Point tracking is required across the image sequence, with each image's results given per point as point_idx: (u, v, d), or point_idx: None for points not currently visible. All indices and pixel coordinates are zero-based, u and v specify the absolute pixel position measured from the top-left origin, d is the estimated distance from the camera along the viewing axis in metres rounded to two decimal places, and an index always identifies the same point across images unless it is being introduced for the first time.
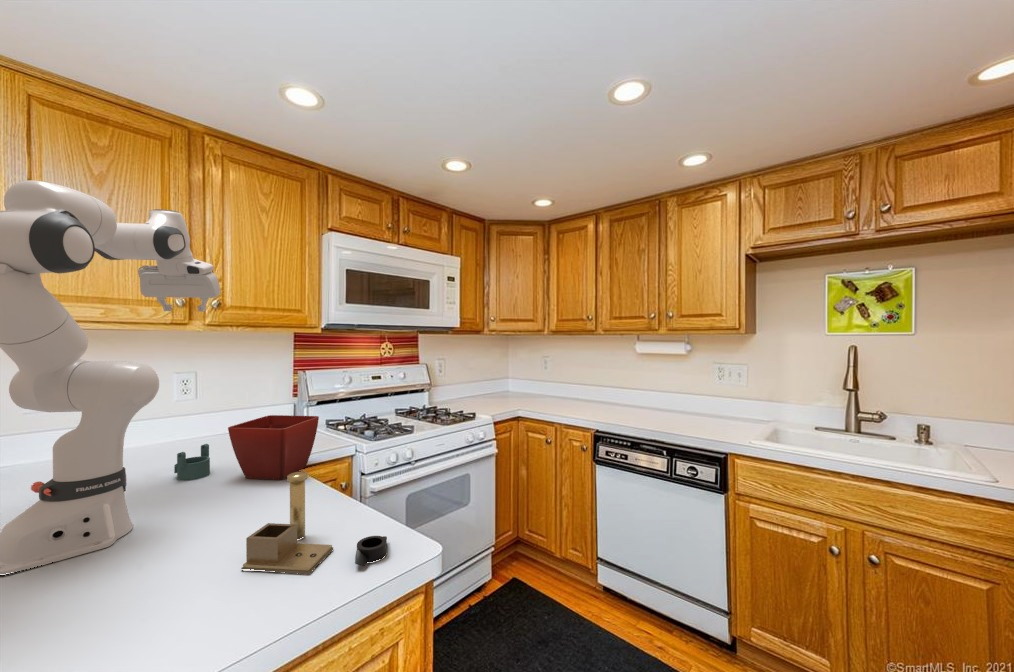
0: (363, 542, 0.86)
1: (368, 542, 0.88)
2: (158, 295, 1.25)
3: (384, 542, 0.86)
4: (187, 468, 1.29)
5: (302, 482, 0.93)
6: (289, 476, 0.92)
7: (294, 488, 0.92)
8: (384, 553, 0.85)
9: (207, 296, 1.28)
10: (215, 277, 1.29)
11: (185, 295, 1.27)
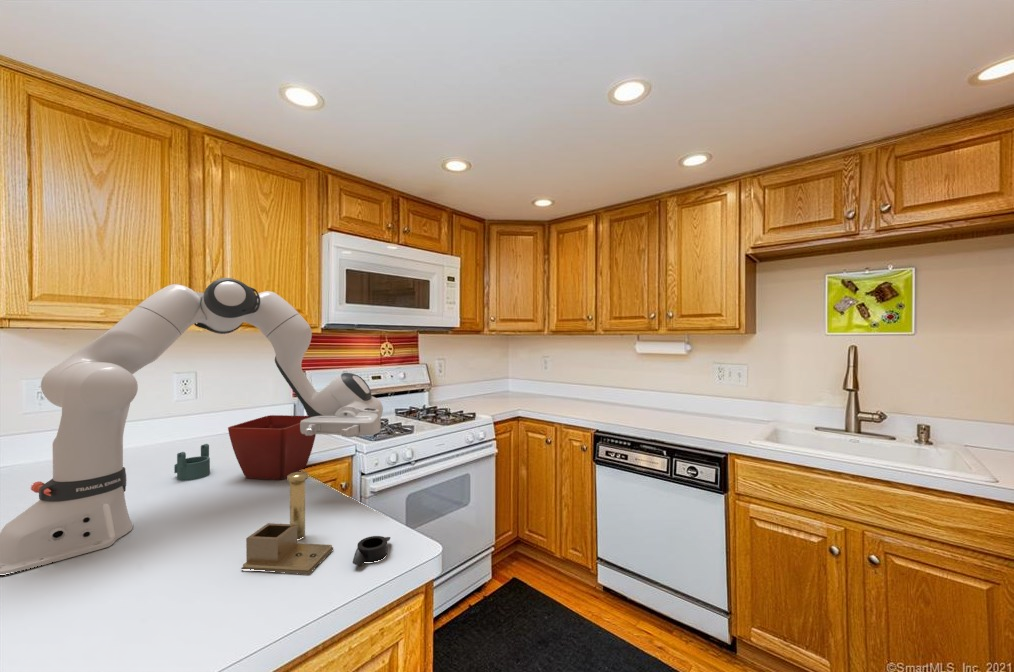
0: (365, 542, 0.87)
1: (370, 542, 0.88)
2: (316, 420, 1.11)
3: (384, 543, 0.85)
4: (187, 467, 1.29)
5: (302, 482, 0.93)
6: (289, 476, 0.92)
7: (294, 488, 0.92)
8: (383, 554, 0.85)
9: (363, 421, 1.10)
10: (378, 428, 1.15)
11: (342, 421, 1.11)
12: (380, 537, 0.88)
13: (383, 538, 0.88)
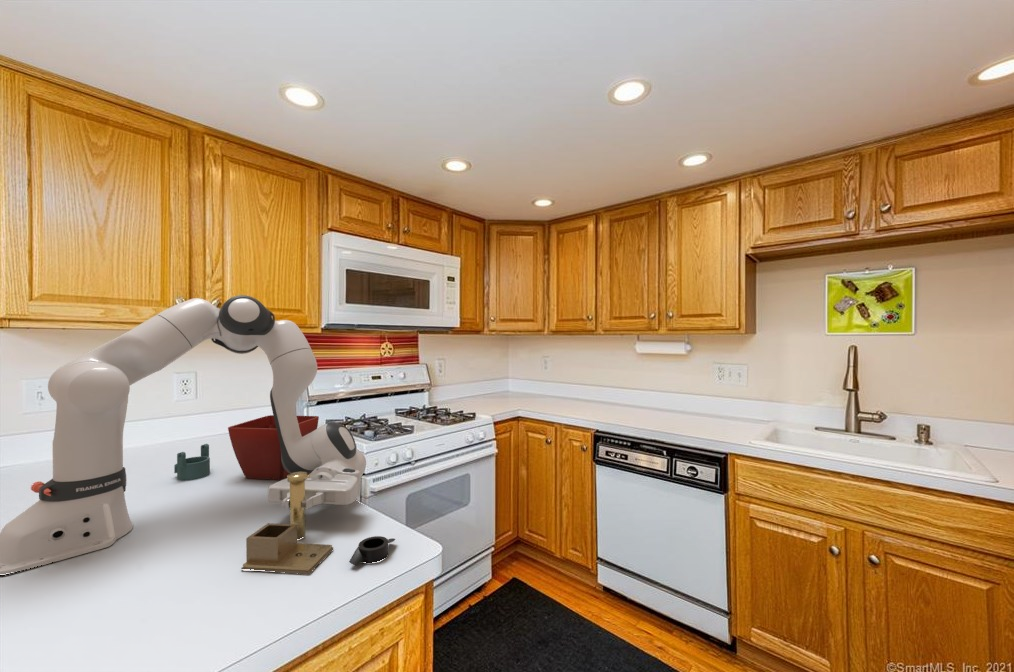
0: (367, 541, 0.87)
1: (374, 542, 0.88)
2: (286, 486, 0.98)
3: (384, 545, 0.85)
4: (187, 467, 1.29)
5: (302, 482, 0.93)
6: (289, 476, 0.92)
7: (294, 488, 0.92)
8: (382, 556, 0.84)
9: (339, 489, 0.97)
10: (357, 493, 1.02)
11: (316, 487, 0.98)
12: (383, 538, 0.88)
13: (385, 539, 0.87)
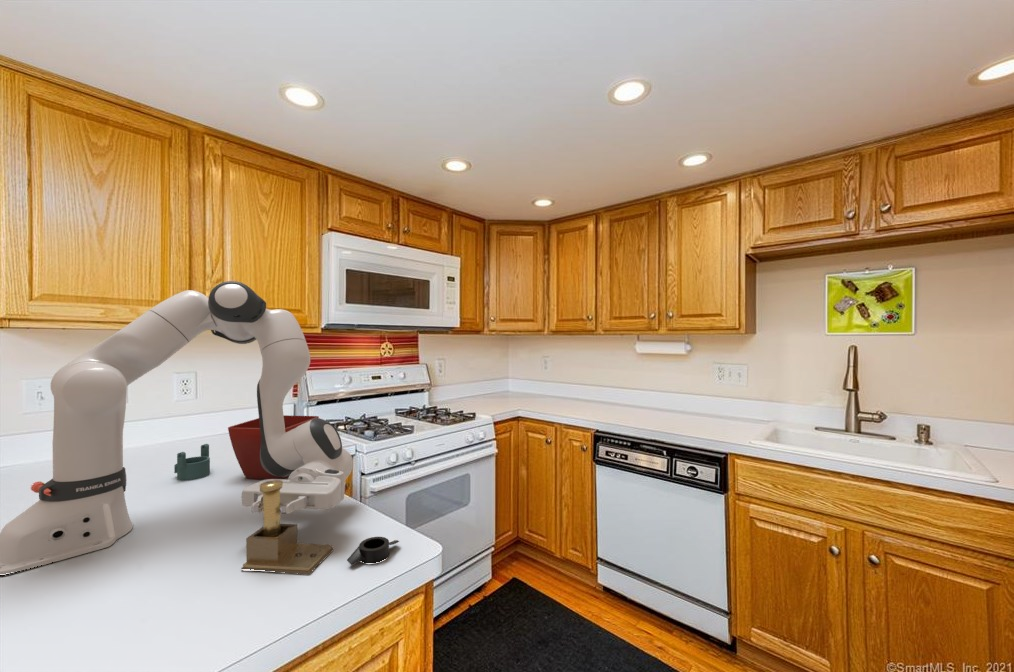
0: (370, 541, 0.87)
1: (376, 543, 0.88)
2: None
3: (382, 547, 0.84)
4: (187, 467, 1.29)
5: (276, 492, 0.84)
6: (262, 485, 0.83)
7: (267, 499, 0.83)
8: (380, 558, 0.83)
9: (320, 492, 0.88)
10: (340, 496, 0.93)
11: (294, 490, 0.89)
12: (385, 539, 0.87)
13: (386, 541, 0.86)
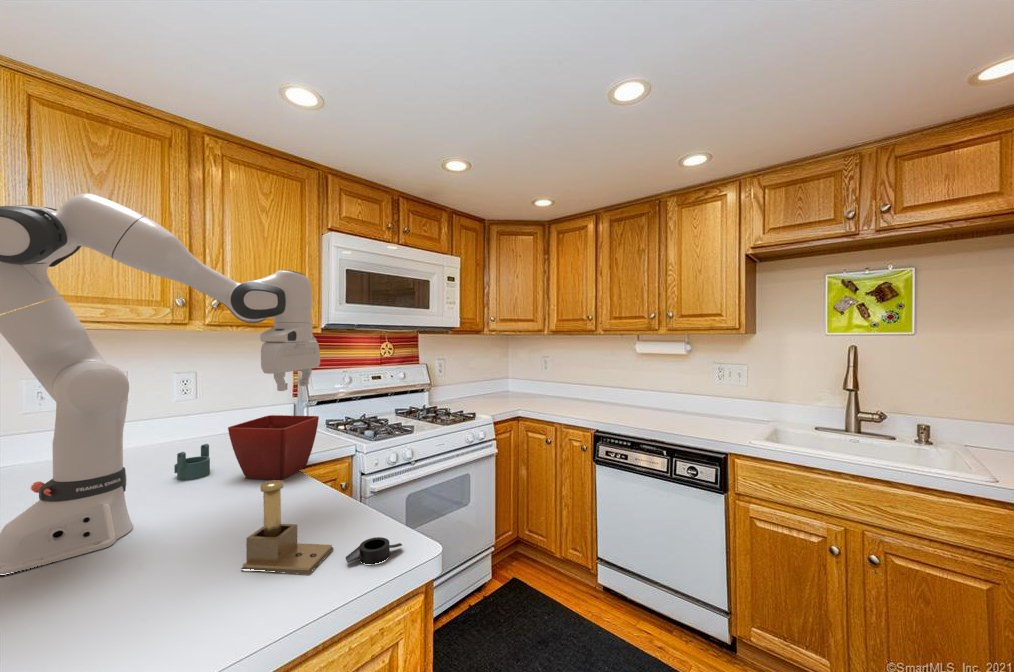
0: (373, 541, 0.87)
1: (379, 543, 0.87)
2: None
3: (380, 549, 0.83)
4: (187, 467, 1.29)
5: (277, 491, 0.84)
6: (262, 485, 0.83)
7: (268, 499, 0.83)
8: (376, 560, 0.83)
9: None
10: (274, 348, 0.99)
11: None
12: (386, 541, 0.86)
13: (387, 543, 0.85)
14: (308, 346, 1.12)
